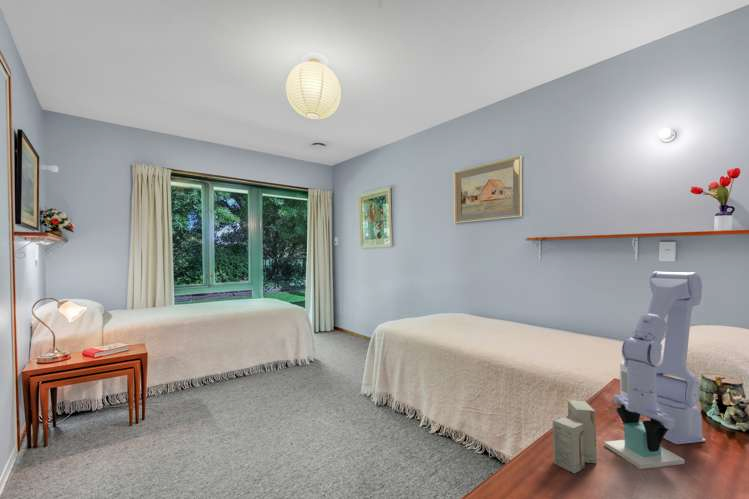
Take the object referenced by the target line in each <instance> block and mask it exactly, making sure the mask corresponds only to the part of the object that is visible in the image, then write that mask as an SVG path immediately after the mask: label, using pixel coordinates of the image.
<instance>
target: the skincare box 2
mask: <svg viewBox="0 0 749 499" xmlns="http://www.w3.org/2000/svg"><path fill="white" fill-rule="evenodd" d="M567 418H569V419H572V420H574V421H577V422H579V423H582V424H583V433H584V461H585V463H588V464H590V463H591V464H598V459H597V458H598V457H597V429H596V428H597V426H596V425H597V423H596V410H595V408H593V406H591V405H590V403H588V402H587V401H586V400H585V401H584V400H574V399H573V400H571V399H570V400H569V399H568V400H567Z"/></svg>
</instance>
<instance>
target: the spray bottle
mask: <svg viewBox="0 0 749 499" xmlns="http://www.w3.org/2000/svg"><path fill="white" fill-rule="evenodd" d="M619 380H620V383H619V384H620V387H619V388H620V394H619V395H622V396H625V397H627V398H628V390H627V389H628V388H627V367H625V365H624V360H623V361H620V363H619Z"/></svg>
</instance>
